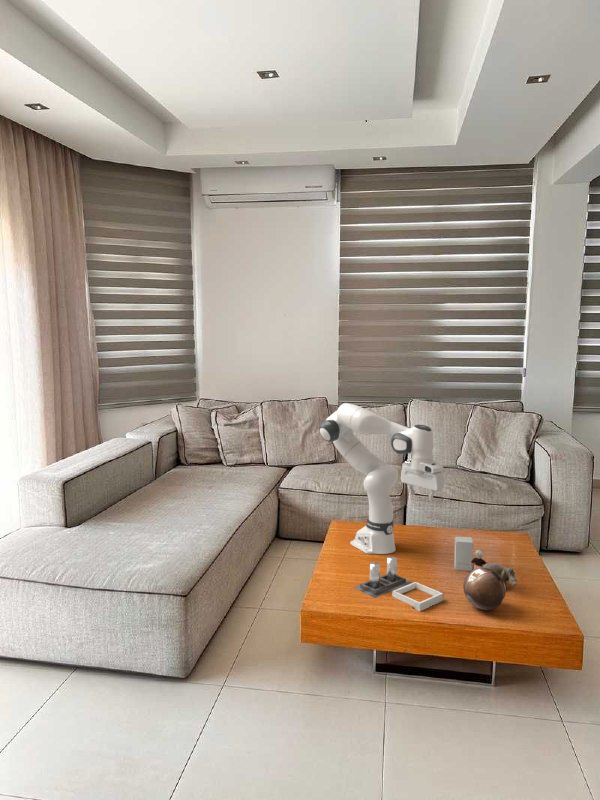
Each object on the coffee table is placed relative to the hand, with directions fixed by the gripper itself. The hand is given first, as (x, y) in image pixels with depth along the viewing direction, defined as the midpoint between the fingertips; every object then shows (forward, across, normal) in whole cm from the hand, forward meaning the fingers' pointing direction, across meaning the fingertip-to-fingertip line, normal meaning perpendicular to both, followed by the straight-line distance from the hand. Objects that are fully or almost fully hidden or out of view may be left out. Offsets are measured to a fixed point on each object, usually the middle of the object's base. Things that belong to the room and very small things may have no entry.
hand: (421, 497), depth 249 cm
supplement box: (+34, +6, +22) cm, 41 cm away
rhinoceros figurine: (+34, +28, +16) cm, 47 cm away
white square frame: (+34, +14, -18) cm, 41 cm away
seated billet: (+33, -2, -25) cm, 42 cm away
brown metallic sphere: (+34, +34, -4) cm, 48 cm away
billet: (+33, -2, -15) cm, 36 cm away
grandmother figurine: (+34, +18, +16) cm, 42 cm away
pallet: (+34, -2, -20) cm, 40 cm away
